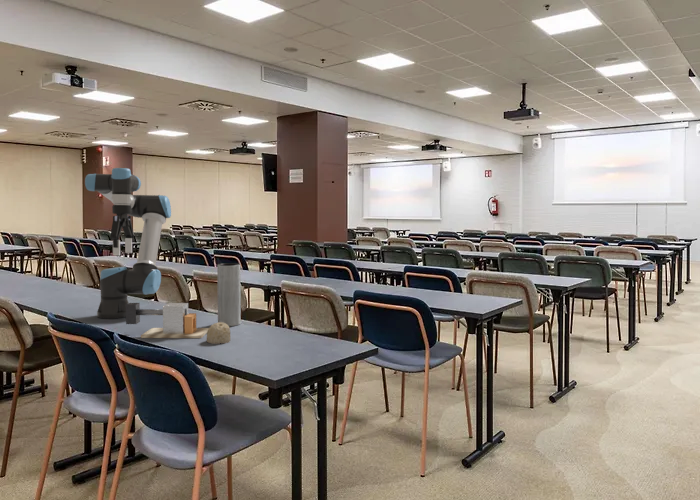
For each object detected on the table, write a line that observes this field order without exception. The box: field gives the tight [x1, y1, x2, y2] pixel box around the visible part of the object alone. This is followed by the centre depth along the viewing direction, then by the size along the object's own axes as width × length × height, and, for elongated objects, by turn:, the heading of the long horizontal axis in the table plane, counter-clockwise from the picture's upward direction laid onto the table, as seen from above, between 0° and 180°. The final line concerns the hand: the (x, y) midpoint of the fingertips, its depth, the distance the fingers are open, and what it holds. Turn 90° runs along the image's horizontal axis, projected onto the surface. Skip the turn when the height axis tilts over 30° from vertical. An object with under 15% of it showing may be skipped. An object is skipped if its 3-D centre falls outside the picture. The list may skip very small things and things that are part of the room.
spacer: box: [184, 312, 197, 334], centre depth 225 cm, size 3×7×7 cm, turn 2°
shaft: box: [125, 302, 163, 325], centre depth 224 cm, size 22×4×8 cm, turn 92°
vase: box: [216, 262, 242, 327], centre depth 245 cm, size 10×10×27 cm
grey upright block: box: [162, 302, 189, 334], centre depth 225 cm, size 8×8×11 cm
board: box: [140, 327, 210, 339], centre depth 225 cm, size 24×14×1 cm, turn 92°
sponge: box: [206, 322, 231, 345], centre depth 214 cm, size 9×10×10 cm
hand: (122, 254), depth 235 cm, fingers open, 13 cm apart
